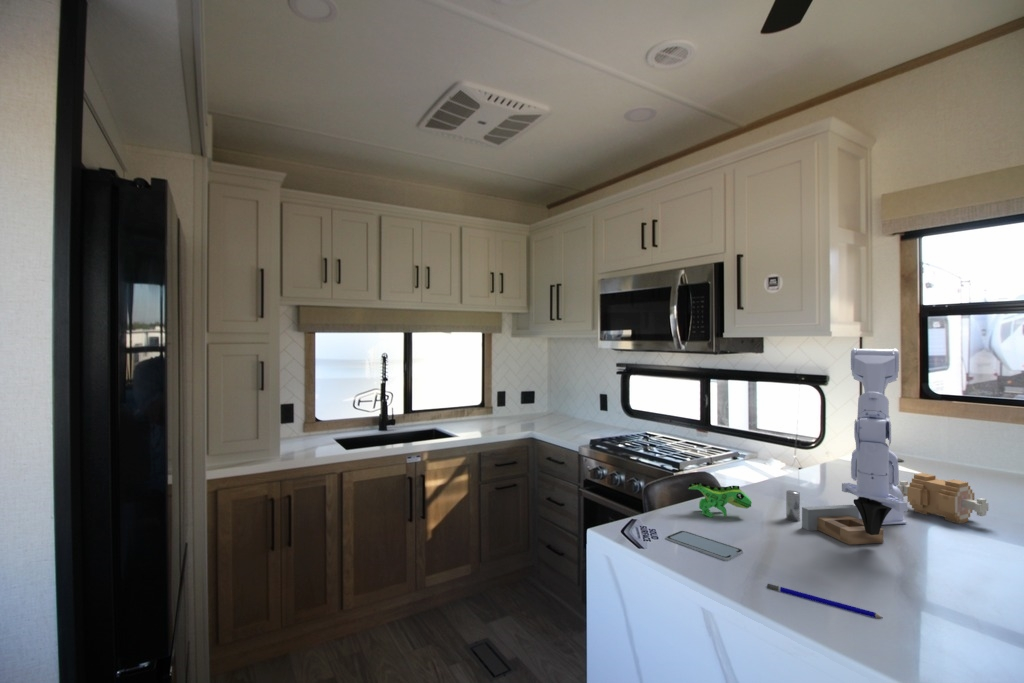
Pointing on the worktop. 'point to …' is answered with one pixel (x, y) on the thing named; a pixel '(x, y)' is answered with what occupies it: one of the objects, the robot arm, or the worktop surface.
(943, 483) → the voxel meat on bone
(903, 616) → the worktop surface
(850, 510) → the wall
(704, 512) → the toy
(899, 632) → the worktop surface
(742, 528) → the worktop surface
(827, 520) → the block
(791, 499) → the dowel
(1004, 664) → the worktop surface
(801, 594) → the pencil
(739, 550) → the smartphone
